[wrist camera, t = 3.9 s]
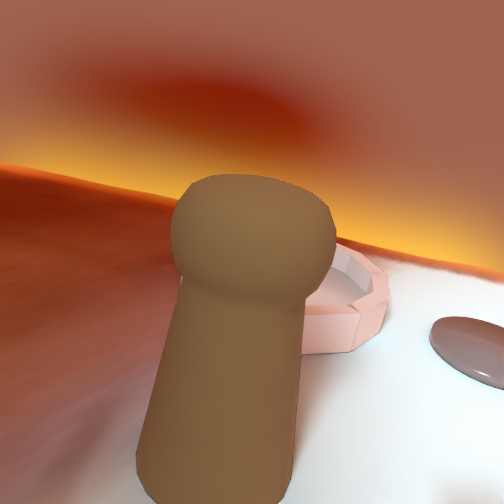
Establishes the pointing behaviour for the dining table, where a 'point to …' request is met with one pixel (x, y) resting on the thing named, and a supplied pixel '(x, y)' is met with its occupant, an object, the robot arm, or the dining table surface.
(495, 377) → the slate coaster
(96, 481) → the dining table surface
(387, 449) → the dining table surface
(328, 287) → the pink flat ring
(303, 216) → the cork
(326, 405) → the dining table surface
